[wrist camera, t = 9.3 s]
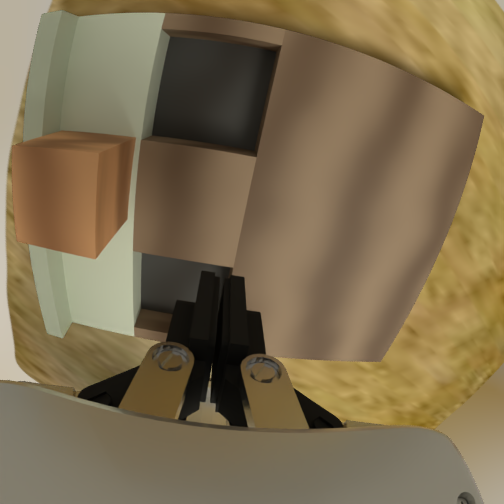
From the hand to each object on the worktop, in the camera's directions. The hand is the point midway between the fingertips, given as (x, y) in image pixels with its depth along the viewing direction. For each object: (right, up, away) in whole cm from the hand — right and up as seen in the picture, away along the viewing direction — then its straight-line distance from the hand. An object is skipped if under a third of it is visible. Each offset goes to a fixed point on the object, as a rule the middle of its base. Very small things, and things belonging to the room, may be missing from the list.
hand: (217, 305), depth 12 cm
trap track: (+5, +5, +9) cm, 11 cm away
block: (-8, +7, +4) cm, 11 cm away
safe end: (-8, +7, +7) cm, 13 cm away
